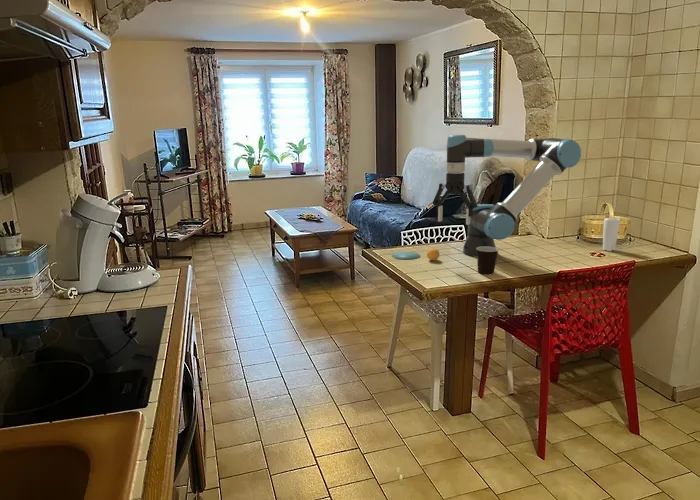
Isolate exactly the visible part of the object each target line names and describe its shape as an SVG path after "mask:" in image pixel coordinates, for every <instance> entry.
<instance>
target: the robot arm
mask: <svg viewBox="0 0 700 500" xmlns="http://www.w3.org/2000/svg"><path fill="white" fill-rule="evenodd" d="M581 153H582V149H581V146H580V145H579V143H578V142H577V141H576V140H574V139H569V138H557V137H548V138H547V137H546V138H530V139H528V140H514V139H498V138H495V139H494V138H482V137H478V138H477V137H466V135H465V134H450V135H448V136H447V141H446V172H447V173H446V174H445V179H446V181H445V183H444V182H441V183H439V184H438V189H437V191H436V193H435V196H434V198H433V201H432V205H435V207H436V212H435V213H436V214H437V222H442V221H443V215H444V214H443V209H444V208H443V207H444V206H443V205H442V204H443V203H444V202H445V201H446V199H447V198H448V197H449V196H450V195H456V196H457V195H458V196H459V197H460V198H461V199H462V201H463V203H464V204H465V205H466V206H465V207H467V208H466V210H465V211H466V213H465V215H466V216H465V225H467V237H466V240H465V241H464V242H465V243H464V245H463V248H462V249H463V250H462V253H463V254H464V255H467V256H471V257H476V258H477V250H476V248H477V247H483V246H487V247H494V248H497V245H496V243H495V240H497V241H501V240H504V239H507V238H508V237H510V236H511V235H512V234H513V232H514V231H515V224H516V223H517V221H518V215H519V214H520V213H522V211H523V210H524V209H525V208H527V206H528V205H529V204H530V202H531V201H533V199H534V198H535V197H536V196H538V194H539V193H540V192H541V191H542V189H544V188H545V186H547V184H548V183H549V182H551V180H552V179H553V178H554V177H555V176H560V175H562V174H563V173H564V172H565V170H567V169H569V168H573V167H575V166H576V165H577V164H578V163H579V162H580V160H581V158H582V157H581V156H582V154H581ZM487 157H500V158H501V157H502V158H504V157H505V158H518V159H526V160H527V161H534V162H537V165H536V166H535V167H534V168H533V169H532V170H531V171H530V172H529V173H528V174H527V175H526V177H525V178H523V180H522V181H521V182H520V183H519V184H518V185H517V186H516V187H515V188H514V189H513V190H512V192H510V194H509V195H508V196H507V197H506V198H505V199H504V200H503V201H502V202H497V203H495V204H492V203H491V204H486V203H482V204H481V203H479V204H477V200H476V198H475V196H474V193H473V191H472V189H473V188H472V184H467V185H466V184H465V176H466V175H465V172H466V170H465V169H466V168H465V167H466V158H467V159H468V158H487ZM444 189H446V191H445V192H444V193H443V191H444ZM464 190H465V191H466V193H467V195H466V193H465V191H464ZM442 193H443V195H442Z"/></svg>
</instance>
